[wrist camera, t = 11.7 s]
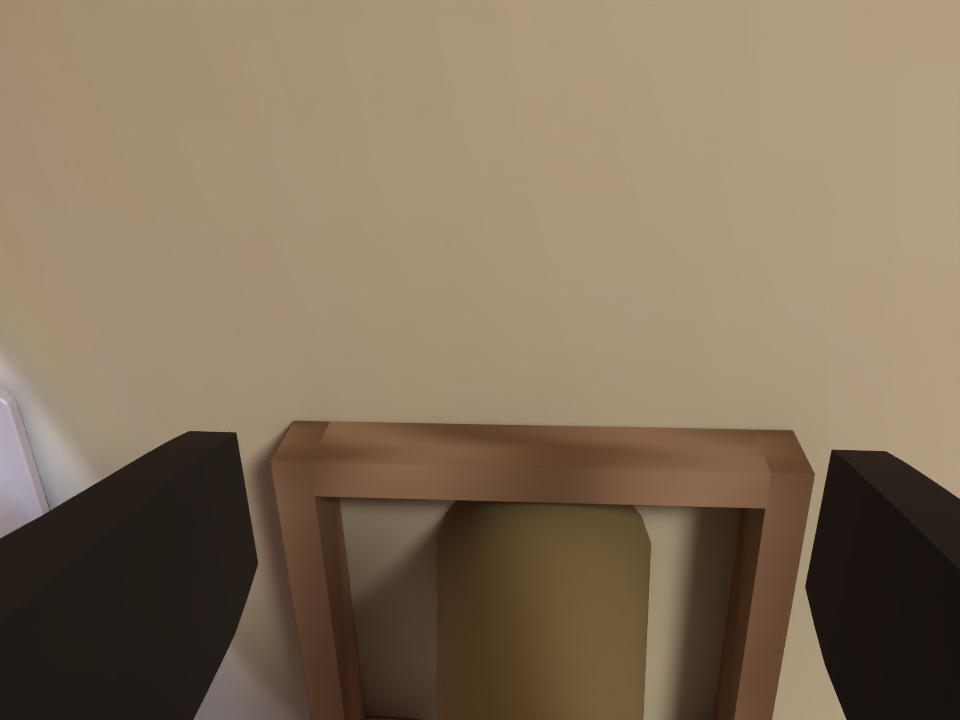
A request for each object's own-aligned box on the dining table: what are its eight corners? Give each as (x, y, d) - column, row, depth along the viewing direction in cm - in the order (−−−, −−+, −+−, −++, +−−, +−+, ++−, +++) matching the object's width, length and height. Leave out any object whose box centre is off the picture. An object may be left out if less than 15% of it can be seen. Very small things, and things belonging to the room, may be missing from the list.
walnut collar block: (338, 737, 27) (322, 792, 26) (293, 421, 22) (270, 461, 20) (741, 758, 26) (754, 817, 25) (792, 430, 21) (815, 473, 19)
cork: (629, 649, 25) (677, 1105, 15) (428, 620, 25) (344, 1052, 15) (672, 481, 22) (765, 901, 12) (447, 450, 22) (361, 838, 12)
